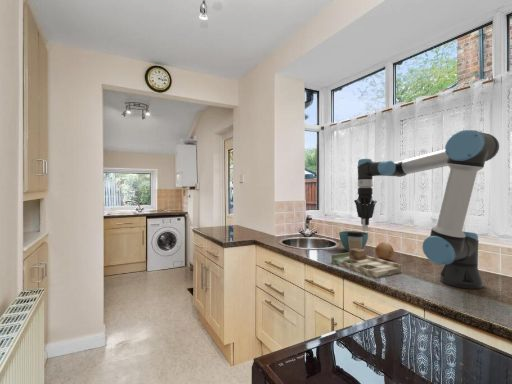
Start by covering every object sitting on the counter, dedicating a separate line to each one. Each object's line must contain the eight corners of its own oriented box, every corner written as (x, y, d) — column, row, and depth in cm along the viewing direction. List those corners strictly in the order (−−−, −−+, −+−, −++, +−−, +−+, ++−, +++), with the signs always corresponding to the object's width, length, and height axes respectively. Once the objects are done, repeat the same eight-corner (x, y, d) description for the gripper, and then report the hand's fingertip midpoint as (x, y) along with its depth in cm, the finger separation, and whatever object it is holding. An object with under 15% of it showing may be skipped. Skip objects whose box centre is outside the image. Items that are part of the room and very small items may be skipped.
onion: (385, 262, 154) (385, 244, 154) (371, 258, 163) (371, 241, 163) (397, 261, 157) (398, 243, 157) (383, 257, 167) (384, 240, 167)
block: (365, 259, 151) (365, 250, 151) (358, 260, 148) (358, 251, 148) (356, 256, 156) (357, 248, 156) (349, 258, 153) (349, 249, 153)
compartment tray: (400, 272, 135) (400, 263, 135) (376, 277, 127) (376, 268, 127) (354, 259, 161) (354, 251, 161) (331, 262, 152) (331, 254, 152)
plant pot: (333, 250, 183) (333, 232, 183) (349, 247, 194) (349, 230, 194) (358, 255, 169) (358, 236, 169) (373, 251, 180) (373, 233, 180)
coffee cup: (364, 259, 161) (364, 233, 161) (347, 258, 163) (348, 233, 163) (361, 255, 171) (361, 231, 170) (345, 254, 172) (346, 230, 172)
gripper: (350, 187, 153) (350, 229, 152) (370, 187, 141) (370, 232, 141) (360, 187, 156) (360, 228, 156) (380, 187, 145) (380, 231, 145)
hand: (365, 230), depth 149 cm, fingers closed
